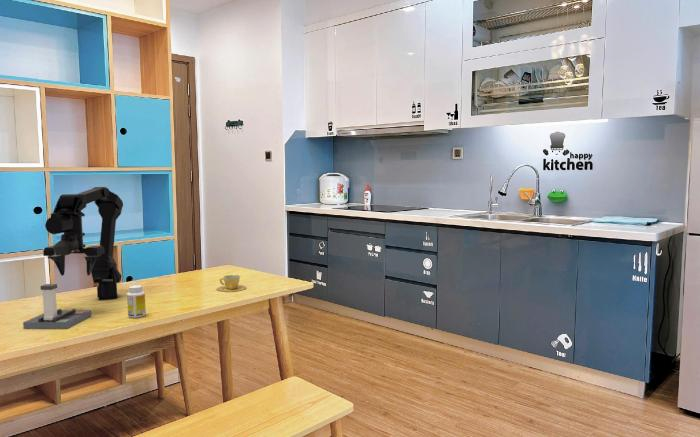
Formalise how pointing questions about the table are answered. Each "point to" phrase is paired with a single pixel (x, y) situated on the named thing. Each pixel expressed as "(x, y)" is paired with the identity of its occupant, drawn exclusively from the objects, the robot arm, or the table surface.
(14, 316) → the table surface
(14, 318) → the table surface
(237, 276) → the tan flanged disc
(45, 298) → the handle
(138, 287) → the supplement bottle
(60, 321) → the box
